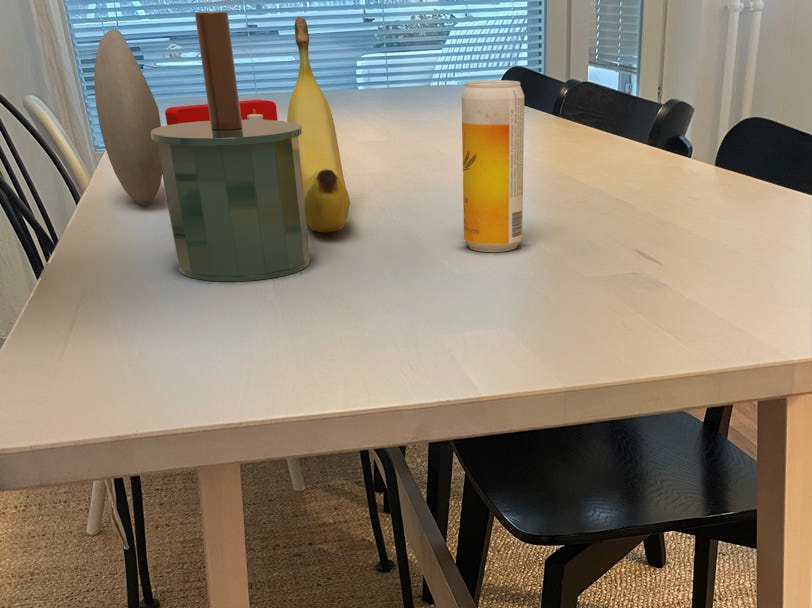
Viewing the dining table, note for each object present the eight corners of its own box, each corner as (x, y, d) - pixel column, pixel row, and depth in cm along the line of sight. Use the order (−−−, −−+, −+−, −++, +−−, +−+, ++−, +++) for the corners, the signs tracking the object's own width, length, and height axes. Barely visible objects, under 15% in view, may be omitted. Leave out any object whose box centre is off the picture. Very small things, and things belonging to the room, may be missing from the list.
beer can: (479, 238, 106) (478, 79, 98) (531, 243, 104) (534, 80, 96) (454, 250, 102) (450, 84, 93) (507, 255, 99) (508, 86, 91)
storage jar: (160, 280, 92) (135, 145, 86) (202, 250, 103) (182, 127, 96) (292, 282, 91) (277, 145, 85) (321, 251, 102) (309, 126, 95)
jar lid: (186, 158, 83) (163, 15, 77) (131, 141, 92) (107, 12, 87) (329, 144, 90) (317, 11, 84) (264, 129, 99) (250, 9, 93)
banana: (361, 245, 104) (345, 22, 93) (305, 248, 103) (282, 23, 92) (340, 206, 122) (324, 16, 111) (293, 208, 121) (272, 16, 110)
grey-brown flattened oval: (181, 214, 119) (151, 32, 108) (120, 219, 117) (84, 33, 106) (165, 189, 133) (137, 26, 123) (110, 193, 131) (77, 27, 120)
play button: (189, 195, 129) (175, 109, 124) (178, 192, 131) (164, 107, 125) (284, 181, 138) (275, 100, 132) (273, 179, 139) (263, 99, 134)
